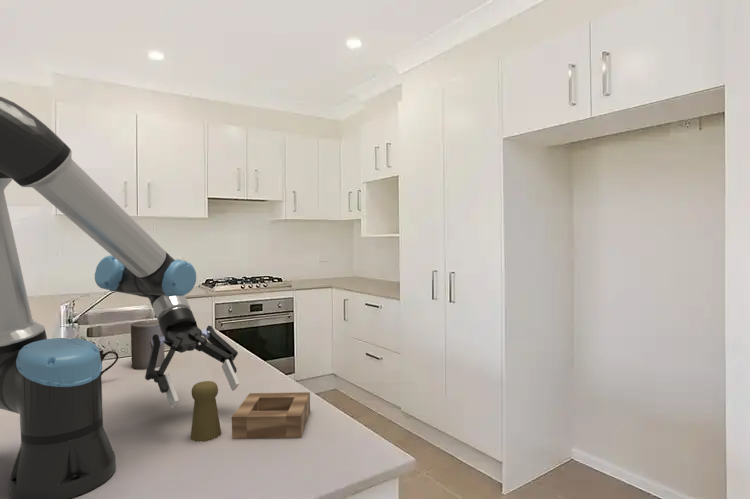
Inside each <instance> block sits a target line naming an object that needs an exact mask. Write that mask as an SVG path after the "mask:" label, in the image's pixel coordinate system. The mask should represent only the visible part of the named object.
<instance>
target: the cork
mask: <svg viewBox="0 0 750 499" xmlns="http://www.w3.org/2000/svg"><path fill="white" fill-rule="evenodd" d="M190 392H191V397H192V399H193V400H194V401H193V402H194V403H193V412H192V421H191V429H190V439H191V440H192V441H193V440H194V442H198V441H199V443H200V441H202V442H209V441H208V440H210V441H212V439H213V440H215V439H217V438H219V437H220V436H221V435H222V428H221V423H220V417H219V411H218V404H217V396H218V393H219V387H218V384H217V383H216V382H214V381H211V380H205V381H199V382H197V383H195V384H194V385H193V386H192V388H191V391H190ZM218 436H219V437H218ZM214 438H215V439H214Z"/></svg>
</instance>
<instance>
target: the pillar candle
mask: <svg viewBox="0 0 750 499" xmlns="http://www.w3.org/2000/svg"><path fill="white" fill-rule="evenodd" d="M155 334H157V335H158V336H159V337H161V336H163V334H162V331H161V329H160V326H159V322H158V320H157V319H156V320H154V319H152V320H149V319H148V318H146V319H145V320H141V321H140V320H139V321H136V322H132V323H131V324H130V338H131V340H130V344H131V345H130V350H131V351H130V352H131V354H130V356H131V357H130V358H131V368H132V369H134V370H147V367H148V363H149V358H150V354H151V345H150V342H151V340H152V337H153V335H155ZM165 354H166V353H165V343H164V342H163V343H162V345H161V346H160V348H159V352H158V357H157V361H156V366H155V369H156V368H160V367H161V365H162V363H163V361H164V359H165V357H166V356H165Z"/></svg>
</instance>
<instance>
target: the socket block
mask: <svg viewBox="0 0 750 499" xmlns="http://www.w3.org/2000/svg"><path fill="white" fill-rule="evenodd" d="M310 413H311V392H309V391H308V392H307V391H306V392H303V391H302V392H249V393H248V394H247V396H246V397H245V399H244V400H243V401H242V403H241V404H240V405H239V407H238V408H237V409H236V410H235V412H234V413H233V414H232V416H231V438H232V440H238V439H239V440H240V439H245V440H246V439H294V438H295V439H296V438H297V439H298V438H299V439H300V438H302V436H303V433H304V431H305V427H306V424H307V422H308V418H309V416H310Z"/></svg>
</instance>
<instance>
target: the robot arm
mask: <svg viewBox="0 0 750 499" xmlns="http://www.w3.org/2000/svg"><path fill="white" fill-rule="evenodd" d="M72 153H73V151H72V149H71V148H70V147H69V146H68V145H67V144H66V143H65V142H64V141H63V140H62V139H61V138H60V137H59V135H57V134H56V133H55V132H54V131H53V130H52V129H51V128H49V127H48V126H47V124H45V123H44V122H42V121H41V120H40V119H39V118H37V117H36V116H35V115H34V114H32V113H31V112H29V111H28V110H26V108H24V107H22V106H20V105H19V104H17V103H15V102H14V101H12V100H9V99H8V98H5V97H3V96H0V410H3V411H7V412H12V413H14V414H15V413H16V414H19V423H20V424H19V425H20V426H19V428H20V447H19V449H18V453H17V456H16V459H15V462H14V465H13V467H12V471H11V474H10V476H9V477H10V478H9V481H8V489H9V494H8V495H9V497H10V499H72V498H74V497H77V496H80V495H83V494H85V493H87V492H89V491H92V490H94V489H95V488H97V487H100V486H101V485H102V484H104V483H105V482H107V481H108V480H109V479H110V478H111V477H112V476H113V475H114V474H115V472H116V469H117V461H116V460H117V458H116V453H115V451H114V450H113V447H112V445H111V442H110V439H109V437H108V435H107V433H106V431H105V428H104V419H103V417H104V416H103V412H104V410H103V390H102V388H103V386H102V385H103V383H102V382H103V381H102V376H101V372H102V371H103V361H102V362H101V358H100V352H99V349H98V347H99V346H97V344H95V343H94V342H92V341H90V340H88V339H82V338H75V337H74V338H66V337H56V338H48V337H47V333H46V328H45V326H44V325H43V324H40V323H38V322H37V321H34V319H33V315H32V312H31V308H30V303H29V298H28V294H27V289H26V284H25V280H24V276H23V272H22V266H21V263H20V259H19V254H18V249H17V244H16V240H15V239H16V238H15V236H14V231H13V227H12V223H11V217H10V212H9V209H8V204H7V200H6V195H5V189H6V188H7V187H8V185H9V184H10V183H11V182H12V181H14V182H16V184H18V185H19V186H20V187H22V188H32V189H34V191H36V192H37V193H39V194H40V195H41V196H42V197H43V198H44V199H45V200H47V201H48V202H49V203H50V204H51V205H53V206H54V208H56V209H57V210H58V211H59V212H61V214H63V215H64V216H66V217H67V219H69V220H70V221H71V222H73V223H74V224H75V225H76V226H77V227H78V228H79V229H81V231H82V232H84V233H85V234H86V235H88V236H89V237H90V238H91V239H92V240H93V241H94V242H96V243H97V244H98V245H99V246H101V247H102V248H103V249H104V251H106V252H107V253H108V254H110V255H106V256H104V257H103V258H102V259H100V261H99V262H98V264H97V265H96V267H95V273H94V281H95V284H96V285H97V286H98V287H99V288H100V289H104V290H105V291H106V290H107V291H109V292H117V293H123V294H127V295H134V296H138V297H142V298H148V300H149V302H150V305H151V307H152V310H153V313H154V315H155V318H156V320H158V322H159V326H160V329H161V331H162V334H163V336H161V337H159V336H158V335H157V334H155V335H153V337H152V340H151V342H150V345H151V354H150V358H149V363H148V367H147V369H146V371H145V376H144V379H145V380H146V381H150V380H153V381H154V383H156V384H157V386H158V387H159V388H158V389H159V391H160V392H161V394H164V393H165V395H166V398H167V400H168V403H169V406H170V408H172V409H173V408H175V407H176V406H177V404H178V402H179V401H180V400H179V397H178V394H177V392H176V389H175V386H174V384H173V381H172V379H171V378H172V377H171V376H170V373H169V372H167V373H165V372H166V370H167V368H168V367H169V364H170V363H171V361H172V359H173V357H174V355H175V353H176V352H178V353H180V354H181V353H185V352H187V351H189V352H192V351H194V350H196V351H197V352H202V353H204V354H206V355H208V356H209V357H211V358H212V359H214V360H216V361H218V362H220V363H221V364H222V365H221V368H222V371H223V372H224V375H225V377H226V379H227V382H228V384H229V386H230V389H231V391H236V390H237V388H238V386H240V382H239V379H238V377H237V375H236V373H237V372H238V371H237V368H236V365H235V363H234V361H235V359H236V358H237V356H238V355H239V352H238V350H236V349H235V348H234V347H233V346H232V345H230V344H229V342H227V341H226V340H225V339H224V338H222V337H221V336H220V335H219V334H218V333H217V332H216V331H215V329H214V328H213V326H212V325H208V326H207V327H206V328H203V329H200V328H199V327H198V325H197V321H196V318H195V316H194V313H193V312H192V310H191V307H190V305H189V301H188V300H187V297H186V295H188V294H189V293H190V292H191V291H193V289H194V287H195V286H196V284H197V283H196V282H197V272H196V269H195V267H194V265H193V264H192V263H190V262H188V261H186V260H182V259H174V257H172V256H171V255H170V254H169V253H168V252H167V251H166V250H165V249H164V248H163V247H162V246H160V244H158V242H157V241H155V239H153V238H152V237H151V235H149V233H148V232H146V230H145V229H143V227H142V226H140V225H139V224H138V223H137V221H135V220H134V219H133V218H132V216H130V214H128V213H127V212H126V211H125V210H124V209H123V208H122V207H121V206H120V205H119V204H118V203H117V202H116V201H115V200H114V199H113V198H112V197H111V196H110V195H109V194H108V193H107V192H106V191H105V190H104V189H103V188H102V187H101V186H100V185H99V184H98V183H96V181H95V180H94V179H92V178H91V176H90V175H88V174H87V172H85V171H84V170H83V169H82V167H80V166H79V165H78V164H77V163H76V161H74V159H72ZM163 342H164V345H167V346H168V347H169V350H168V352H167V354H166V356H165V359H164V361H163V363H162V365H161V366H160V367H158V370H156V368H155V366H156V361H157V357H158V352H159V348H160V346H161V345H162V343H163ZM199 343H200V344H199Z"/></svg>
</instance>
